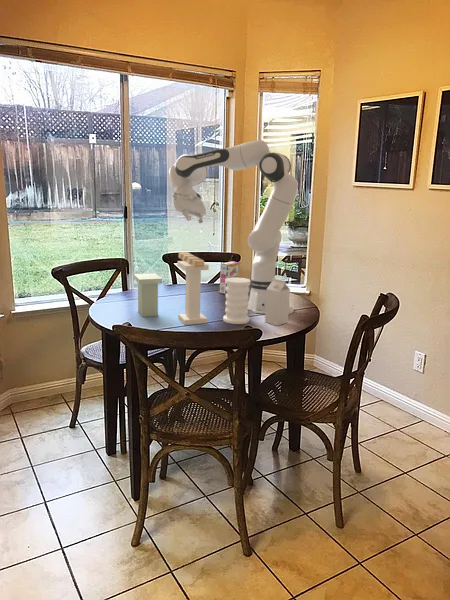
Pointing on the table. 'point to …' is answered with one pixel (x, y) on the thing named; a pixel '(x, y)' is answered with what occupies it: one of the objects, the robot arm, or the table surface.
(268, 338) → the table surface
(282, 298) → the milk carton
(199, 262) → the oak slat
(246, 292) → the decorative container
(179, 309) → the table surface
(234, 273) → the candy bar box
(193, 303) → the shelf stand
